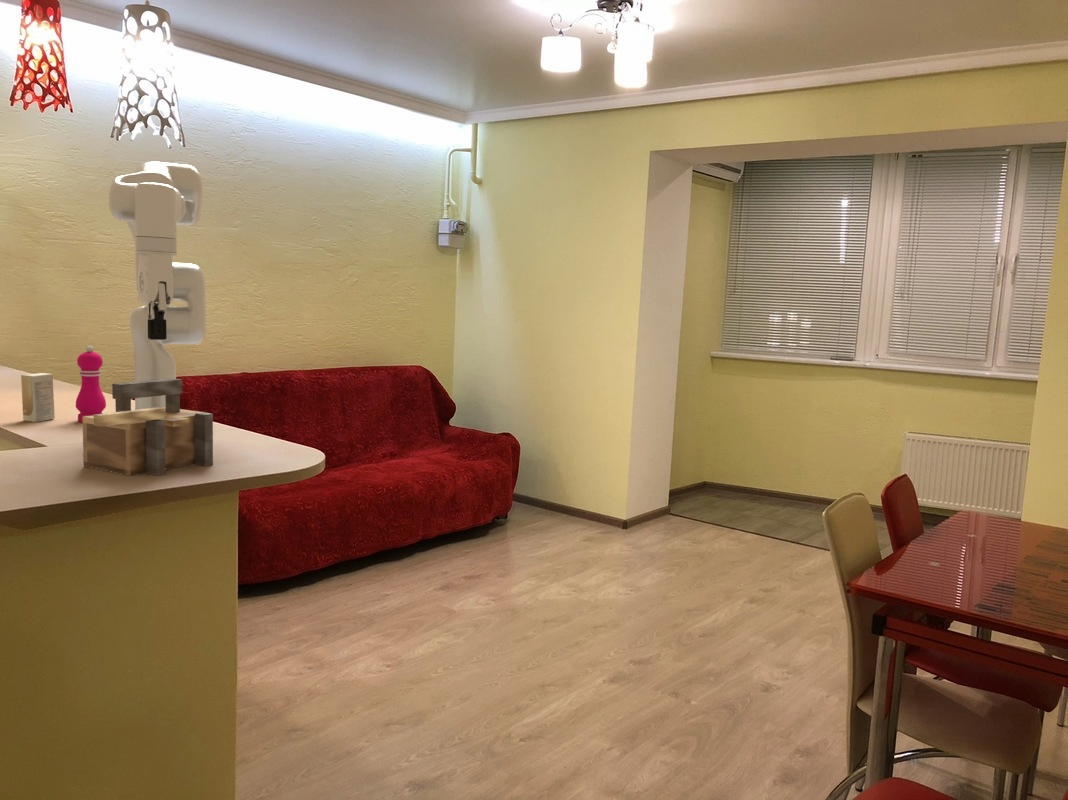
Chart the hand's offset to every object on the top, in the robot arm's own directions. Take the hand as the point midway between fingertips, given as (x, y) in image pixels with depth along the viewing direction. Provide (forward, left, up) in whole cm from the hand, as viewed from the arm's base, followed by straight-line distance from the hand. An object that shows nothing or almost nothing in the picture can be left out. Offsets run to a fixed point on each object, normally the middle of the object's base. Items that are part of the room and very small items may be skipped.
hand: (157, 339), depth 172 cm
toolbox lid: (-1, -3, -17) cm, 18 cm away
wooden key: (+10, +5, -15) cm, 19 cm away
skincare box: (-20, -70, -27) cm, 78 cm away
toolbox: (-1, -3, -26) cm, 26 cm away
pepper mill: (-28, -60, -27) cm, 72 cm away
